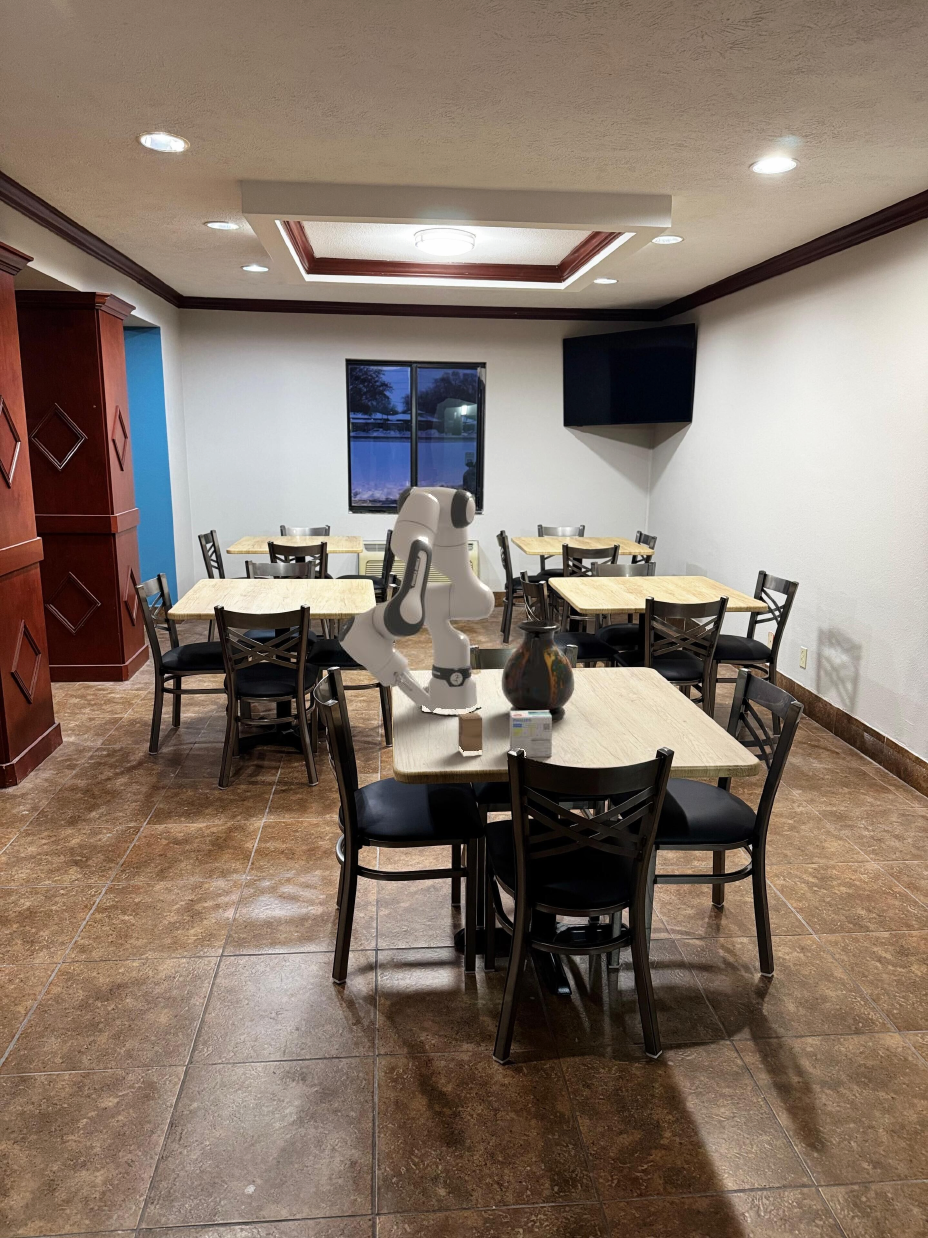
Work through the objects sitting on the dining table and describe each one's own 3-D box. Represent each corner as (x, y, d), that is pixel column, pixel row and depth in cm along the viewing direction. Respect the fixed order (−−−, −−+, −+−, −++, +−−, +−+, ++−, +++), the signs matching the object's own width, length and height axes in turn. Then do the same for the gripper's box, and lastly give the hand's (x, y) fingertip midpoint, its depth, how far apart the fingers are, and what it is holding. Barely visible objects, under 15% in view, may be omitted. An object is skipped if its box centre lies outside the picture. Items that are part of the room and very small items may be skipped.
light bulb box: (548, 748, 222) (549, 709, 220) (552, 757, 216) (553, 716, 214) (508, 749, 222) (508, 709, 220) (510, 757, 215) (511, 717, 213)
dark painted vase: (570, 729, 239) (572, 631, 234) (495, 724, 243) (496, 629, 238) (576, 708, 260) (578, 618, 255) (507, 704, 264) (507, 616, 259)
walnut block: (458, 751, 221) (458, 714, 219) (477, 749, 222) (477, 712, 220) (463, 757, 216) (463, 719, 214) (482, 755, 217) (482, 718, 215)
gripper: (408, 669, 200) (448, 706, 204) (393, 651, 219) (430, 685, 224) (389, 688, 200) (430, 725, 204) (376, 669, 219) (414, 702, 223)
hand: (430, 704), depth 214 cm, fingers open, 8 cm apart
